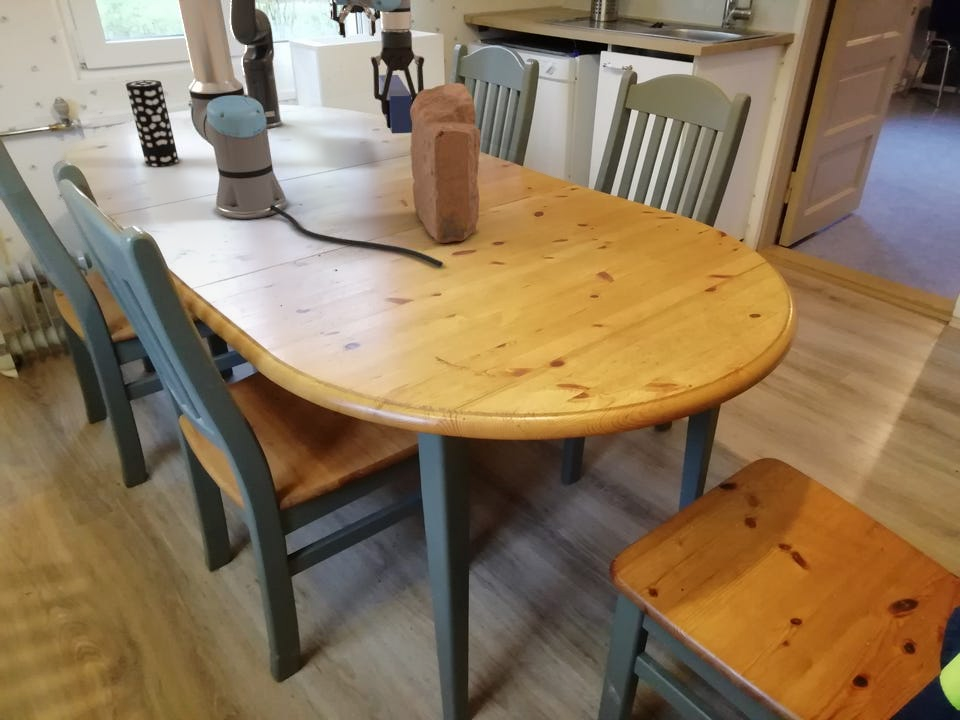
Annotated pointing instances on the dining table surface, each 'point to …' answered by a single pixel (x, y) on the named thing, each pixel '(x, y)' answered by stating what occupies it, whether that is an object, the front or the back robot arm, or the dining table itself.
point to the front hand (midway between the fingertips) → (400, 126)
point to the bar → (398, 105)
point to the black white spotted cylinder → (152, 122)
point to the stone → (445, 161)
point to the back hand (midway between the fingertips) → (357, 36)
